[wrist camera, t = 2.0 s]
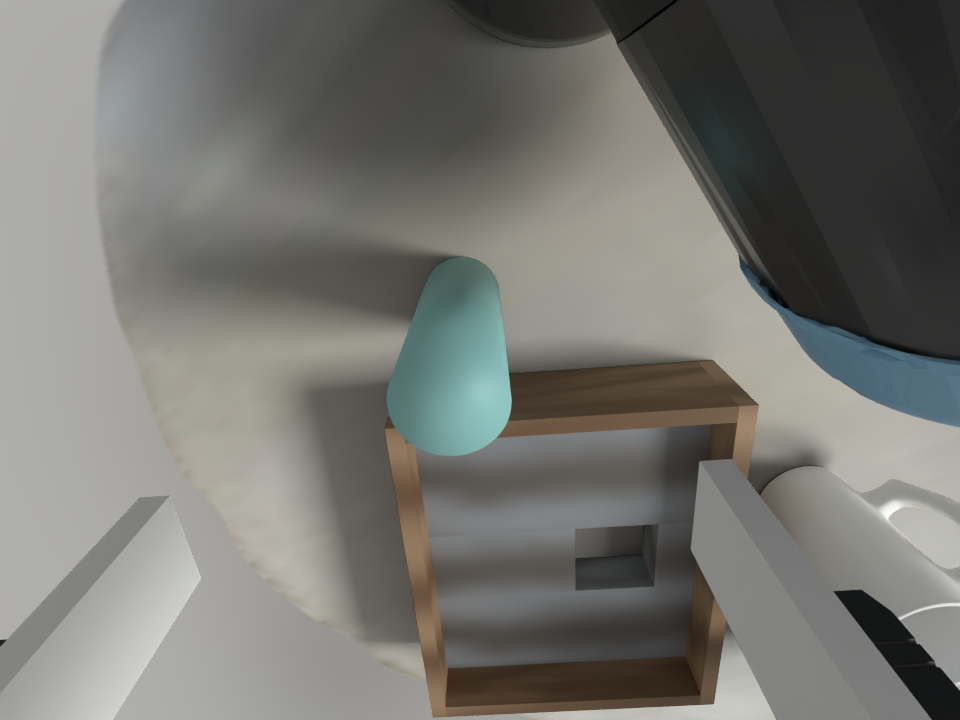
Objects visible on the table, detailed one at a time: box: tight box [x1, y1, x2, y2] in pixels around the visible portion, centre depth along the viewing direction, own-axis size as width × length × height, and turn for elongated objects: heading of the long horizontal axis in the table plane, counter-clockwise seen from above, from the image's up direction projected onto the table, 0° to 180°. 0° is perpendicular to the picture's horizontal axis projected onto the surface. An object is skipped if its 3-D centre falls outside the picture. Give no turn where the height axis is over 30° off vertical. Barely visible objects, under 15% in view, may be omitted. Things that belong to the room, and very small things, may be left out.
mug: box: [760, 466, 960, 685], centre depth 32 cm, size 10×7×12 cm, turn 135°
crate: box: [385, 360, 759, 717], centre depth 36 cm, size 24×20×6 cm
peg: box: [386, 257, 512, 456], centre depth 25 cm, size 4×4×14 cm
